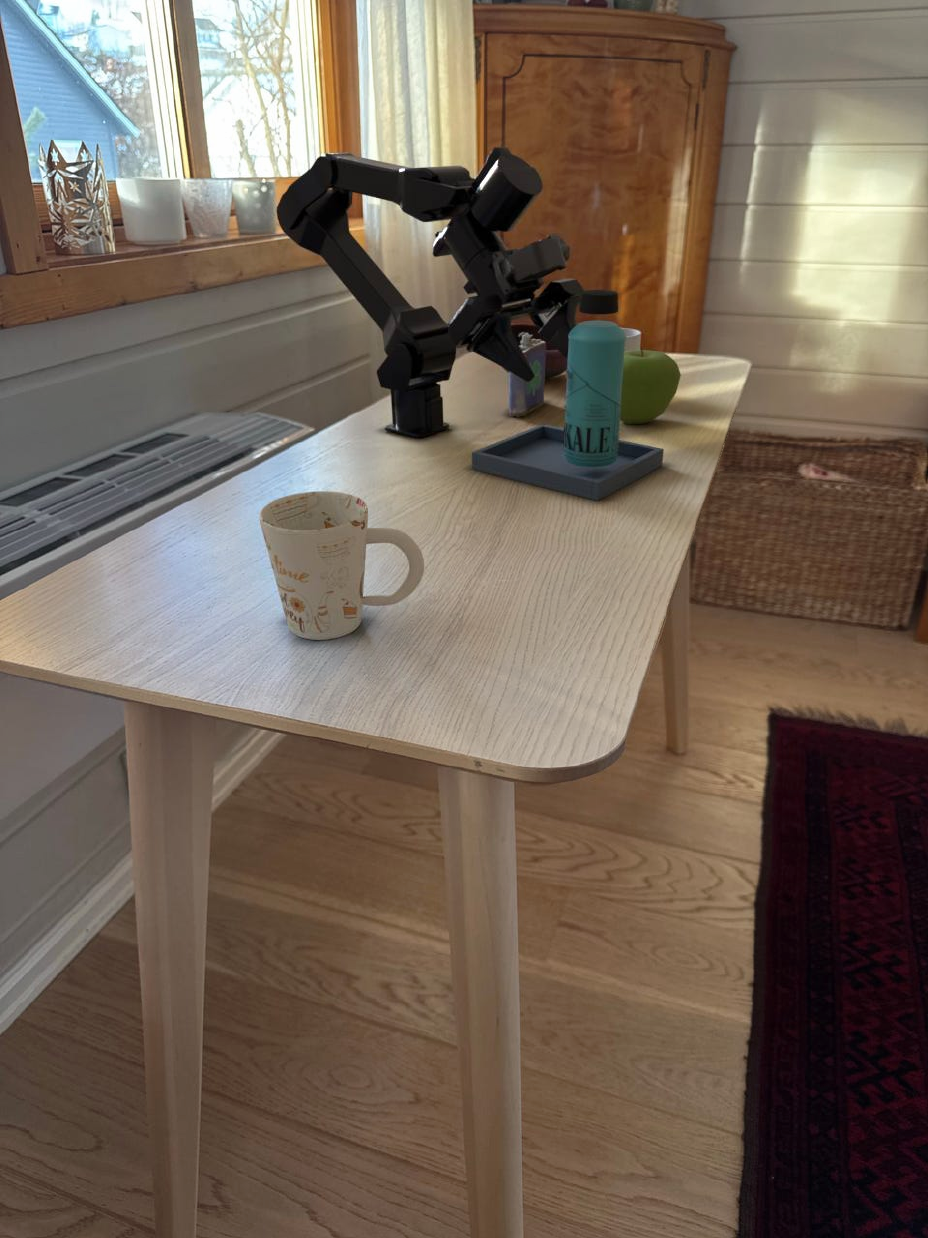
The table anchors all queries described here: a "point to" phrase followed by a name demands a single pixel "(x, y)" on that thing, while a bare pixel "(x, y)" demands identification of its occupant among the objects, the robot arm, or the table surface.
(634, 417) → the apple
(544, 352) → the flask
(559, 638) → the table surface
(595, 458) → the beverage bottle
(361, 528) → the mug
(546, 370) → the bowl
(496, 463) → the tray
